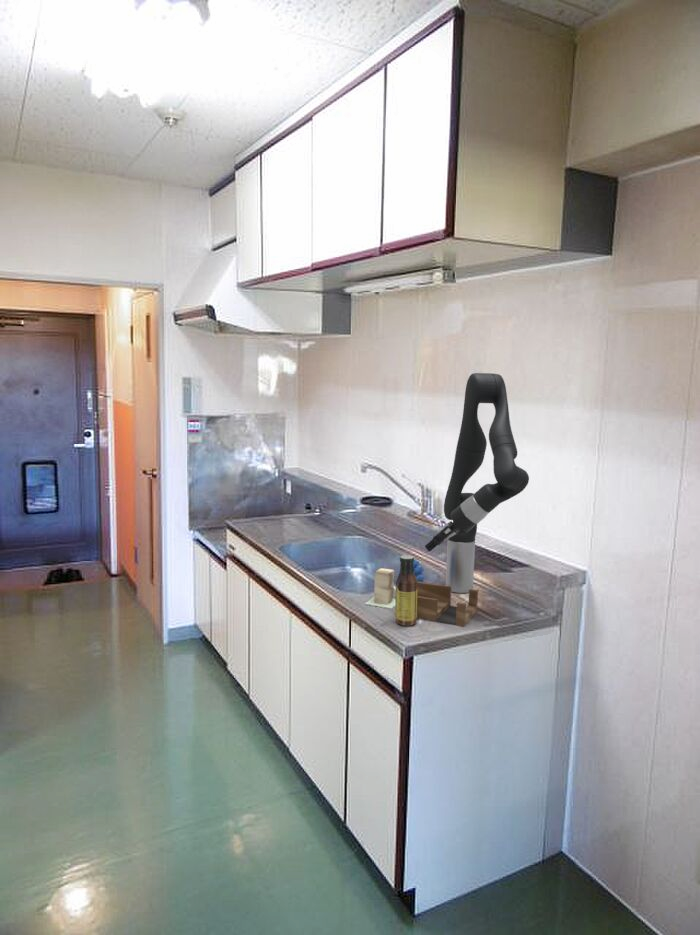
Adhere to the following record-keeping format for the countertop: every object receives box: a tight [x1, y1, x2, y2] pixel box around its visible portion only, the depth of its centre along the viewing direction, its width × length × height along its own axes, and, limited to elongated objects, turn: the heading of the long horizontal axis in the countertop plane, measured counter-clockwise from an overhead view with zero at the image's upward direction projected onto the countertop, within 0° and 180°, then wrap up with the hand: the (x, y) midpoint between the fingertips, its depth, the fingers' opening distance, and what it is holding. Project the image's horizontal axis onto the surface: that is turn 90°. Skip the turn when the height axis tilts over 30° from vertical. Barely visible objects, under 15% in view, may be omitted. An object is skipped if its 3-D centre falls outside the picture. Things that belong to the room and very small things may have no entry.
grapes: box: [413, 559, 425, 582], centre depth 221 cm, size 12×7×12 cm, turn 30°
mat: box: [364, 596, 396, 610], centre depth 211 cm, size 9×9×1 cm
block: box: [373, 567, 395, 605], centre depth 210 cm, size 5×4×10 cm
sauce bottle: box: [394, 554, 417, 627], centre depth 192 cm, size 6×6×20 cm
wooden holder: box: [416, 581, 479, 627], centre depth 202 cm, size 15×21×6 cm
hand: (431, 545), depth 203 cm, fingers open, 8 cm apart
